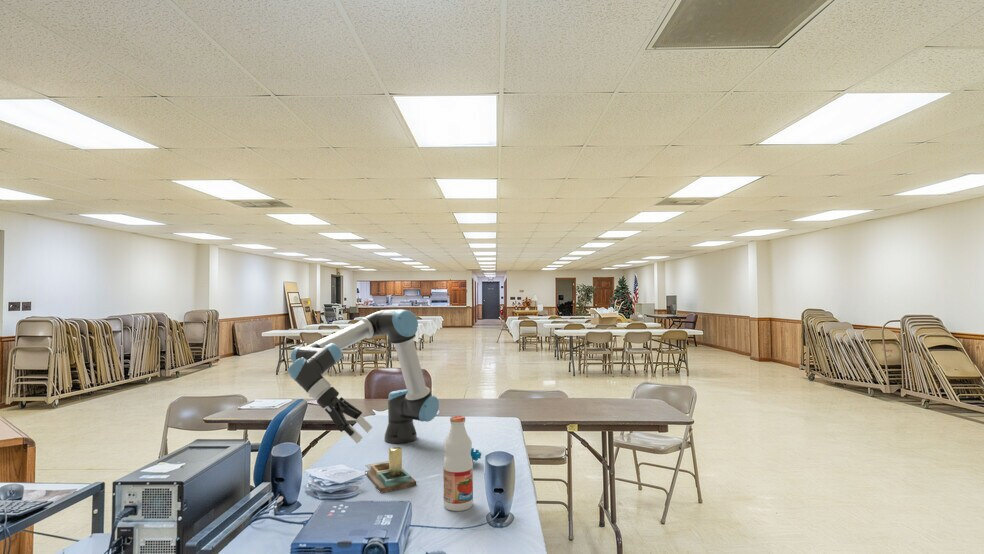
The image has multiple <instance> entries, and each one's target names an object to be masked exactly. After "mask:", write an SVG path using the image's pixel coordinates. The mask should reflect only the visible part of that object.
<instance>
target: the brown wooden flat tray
mask: <svg viewBox="0 0 984 554" xmlns="http://www.w3.org/2000/svg"><path fill="white" fill-rule="evenodd" d="M383 462H384V463H380V462H378V463H379V464H375V463H372V464H373V465H370V470H369V469H368V470H365V471H364V473H365V472H367V476H366V477H367V478H368V479H369V480H370V481H371V483H372V484H374V486H375V489H378V490H379V491H380V492H379V491H378V490H377V491H378V492H379V493H380V494H382V493H381V492H383V493H387V492H386V491H388V492H391V490H393V491H397V490H401V488H402V489H405V487H407V488H410V486H411V487H415V486H414V485H416V486H417V480H416V479H415V478H413V477H412V476H411V475H410V474H409V473H408V472H407V471H406V470H405V469H403V468H402V474H403V477H399V478H394V479H389V480H388V475H389V462H386V461H383Z"/></svg>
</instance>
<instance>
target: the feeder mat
mask: <svg viewBox="0 0 984 554" xmlns="http://www.w3.org/2000/svg"><path fill="white" fill-rule="evenodd" d="M384 462H389V460H385V461H381V462H375V463H370V464H365V465H364V466H365V467H366V468H367V469H368V470H370V465H373V464H379V463H384Z"/></svg>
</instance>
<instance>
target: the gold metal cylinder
mask: <svg viewBox="0 0 984 554" xmlns="http://www.w3.org/2000/svg"><path fill="white" fill-rule="evenodd" d="M388 461H389V475H388V480H389V479H394V478H399V477H403V474H402V469H403V448H402V447H400V446H393V447H389V448H388Z"/></svg>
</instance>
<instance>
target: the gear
mask: <svg viewBox="0 0 984 554" xmlns="http://www.w3.org/2000/svg"><path fill="white" fill-rule="evenodd" d="M479 450H480V449H475V447H474V448H473V447H472V449H471V457H472V462H474V461H475V462H477V461H478V460H479V459H481V457H482V452H481V451H479Z"/></svg>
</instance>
